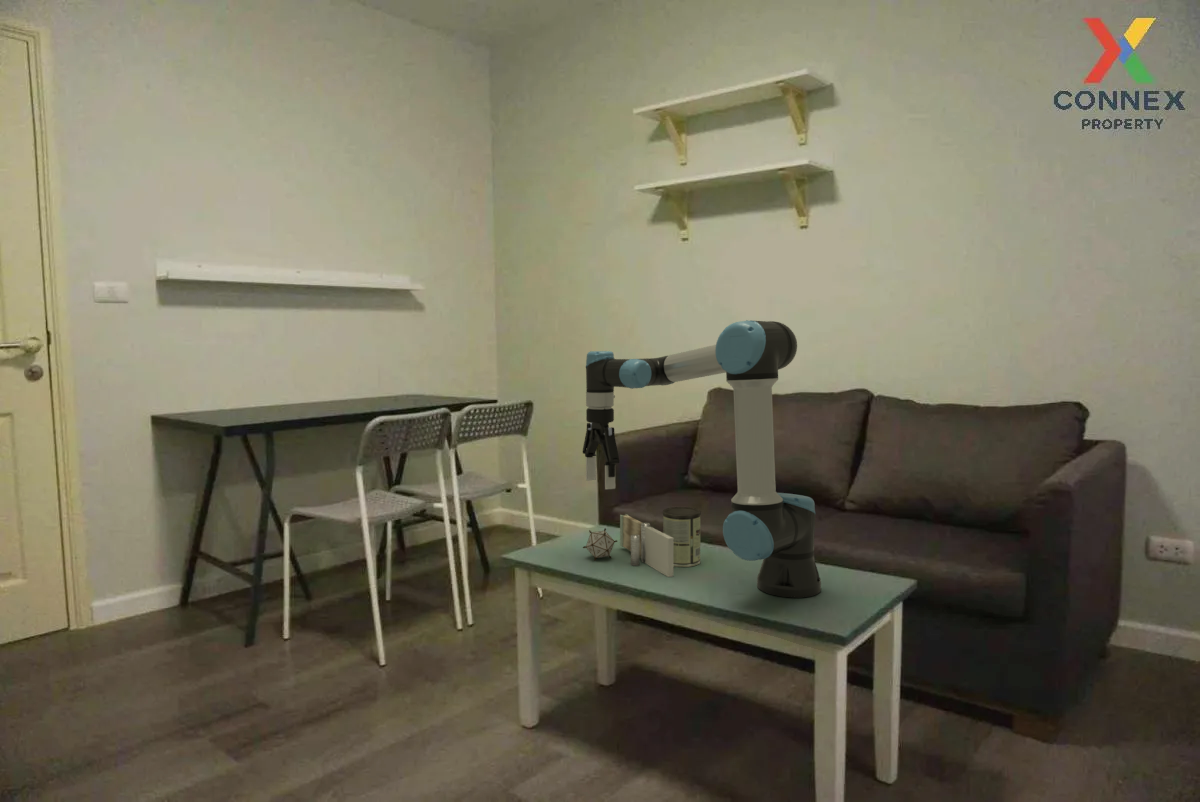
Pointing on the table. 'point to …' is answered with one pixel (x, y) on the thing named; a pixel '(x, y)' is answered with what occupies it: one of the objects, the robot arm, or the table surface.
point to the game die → (600, 544)
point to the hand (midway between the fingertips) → (600, 484)
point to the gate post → (643, 540)
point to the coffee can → (683, 534)
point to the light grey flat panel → (659, 551)
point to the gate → (629, 530)
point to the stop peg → (635, 550)
